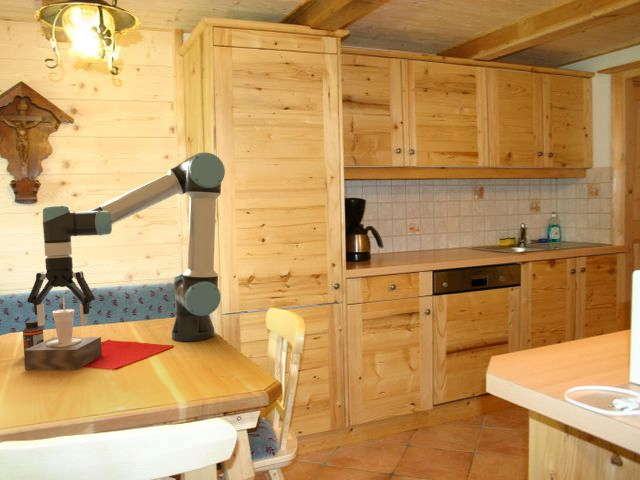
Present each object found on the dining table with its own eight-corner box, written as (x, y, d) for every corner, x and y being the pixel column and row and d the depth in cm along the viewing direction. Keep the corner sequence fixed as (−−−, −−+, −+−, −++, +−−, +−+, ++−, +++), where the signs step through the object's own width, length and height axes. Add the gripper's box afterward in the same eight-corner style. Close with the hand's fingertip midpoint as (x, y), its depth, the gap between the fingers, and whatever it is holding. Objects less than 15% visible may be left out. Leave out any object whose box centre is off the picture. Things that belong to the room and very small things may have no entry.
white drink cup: (60, 345, 172) (58, 299, 171) (49, 342, 176) (47, 297, 175) (80, 341, 177) (78, 296, 176) (69, 338, 181) (67, 294, 180)
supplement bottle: (20, 356, 185) (17, 322, 184) (36, 352, 190) (34, 318, 190) (32, 358, 182) (29, 323, 182) (48, 353, 188) (46, 319, 187)
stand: (101, 355, 184) (100, 335, 184) (77, 369, 168) (75, 348, 168) (54, 355, 185) (52, 336, 185) (25, 370, 169) (23, 349, 169)
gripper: (103, 254, 177) (107, 321, 179) (26, 256, 179) (31, 322, 181) (92, 256, 170) (96, 327, 171) (12, 258, 172) (16, 328, 173)
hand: (62, 325), depth 176 cm, fingers open, 13 cm apart
